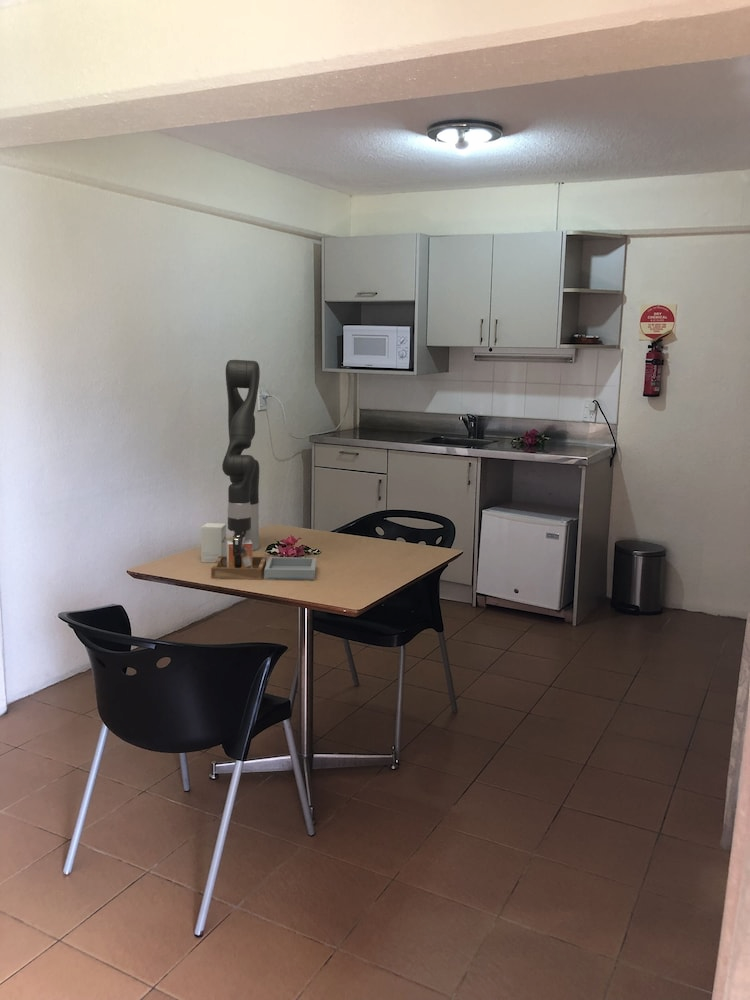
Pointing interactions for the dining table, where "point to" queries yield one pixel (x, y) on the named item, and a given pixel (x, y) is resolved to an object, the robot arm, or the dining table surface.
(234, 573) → the frame
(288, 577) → the tray
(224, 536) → the supplement box
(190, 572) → the dining table surface
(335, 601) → the dining table surface
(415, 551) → the dining table surface
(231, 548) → the small box
